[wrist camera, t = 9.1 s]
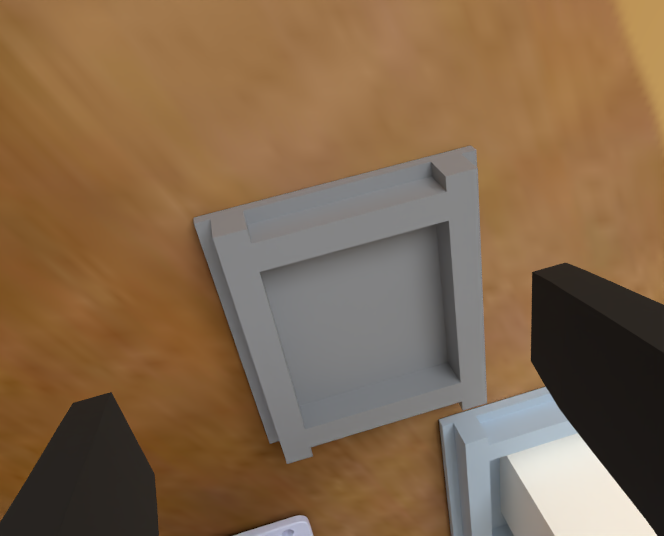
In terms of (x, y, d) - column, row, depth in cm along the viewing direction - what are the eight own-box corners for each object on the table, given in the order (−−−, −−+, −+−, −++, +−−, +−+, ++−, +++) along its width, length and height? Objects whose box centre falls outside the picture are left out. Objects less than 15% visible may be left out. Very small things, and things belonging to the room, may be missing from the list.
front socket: (268, 436, 24) (274, 467, 22) (193, 217, 18) (195, 242, 17) (481, 372, 25) (499, 399, 23) (470, 145, 19) (493, 163, 18)
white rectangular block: (500, 511, 29) (567, 636, 24) (499, 443, 27) (574, 569, 22) (575, 486, 30) (656, 604, 25) (582, 418, 27) (675, 535, 22)
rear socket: (452, 550, 31) (465, 580, 30) (438, 419, 26) (453, 448, 24) (612, 498, 32) (631, 524, 31) (631, 360, 26) (656, 385, 25)
